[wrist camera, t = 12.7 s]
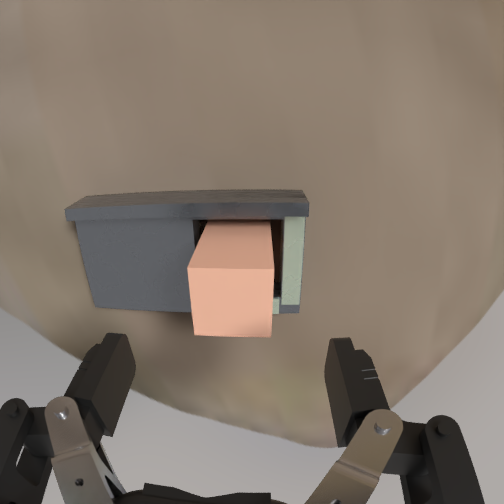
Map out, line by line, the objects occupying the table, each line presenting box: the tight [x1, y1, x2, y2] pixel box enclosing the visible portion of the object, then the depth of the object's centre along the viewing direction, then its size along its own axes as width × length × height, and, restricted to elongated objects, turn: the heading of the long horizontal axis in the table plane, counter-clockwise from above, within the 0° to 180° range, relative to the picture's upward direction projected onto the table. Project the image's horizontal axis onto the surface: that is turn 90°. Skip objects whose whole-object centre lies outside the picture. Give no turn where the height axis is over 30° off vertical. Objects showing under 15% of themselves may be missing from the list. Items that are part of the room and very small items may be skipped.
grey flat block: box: [65, 190, 309, 314], centre depth 21 cm, size 8×15×3 cm, turn 90°
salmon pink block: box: [187, 219, 274, 337], centre depth 19 cm, size 4×4×7 cm
